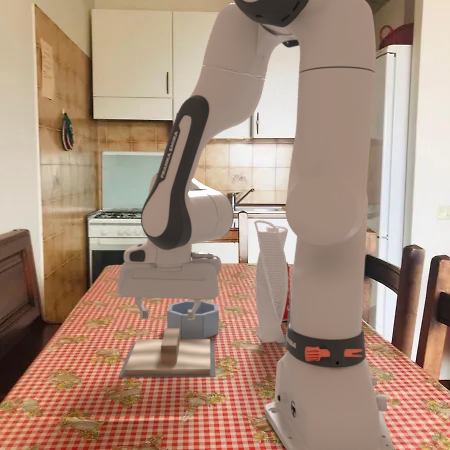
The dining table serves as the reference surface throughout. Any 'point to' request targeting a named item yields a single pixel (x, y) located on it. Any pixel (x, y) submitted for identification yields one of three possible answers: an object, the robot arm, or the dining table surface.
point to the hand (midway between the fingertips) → (167, 318)
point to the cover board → (185, 360)
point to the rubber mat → (212, 374)
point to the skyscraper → (271, 283)
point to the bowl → (197, 328)
